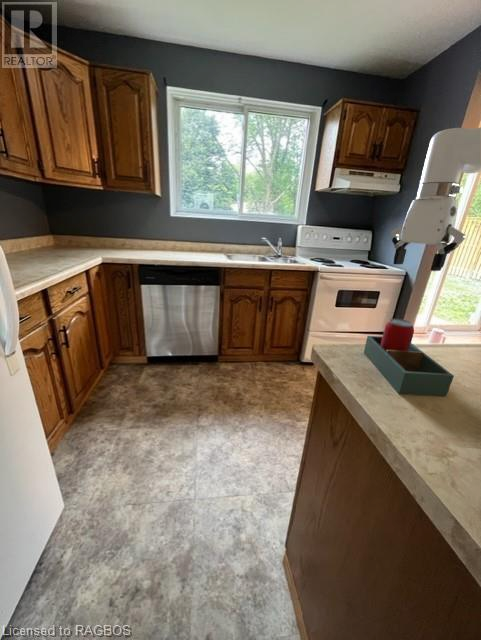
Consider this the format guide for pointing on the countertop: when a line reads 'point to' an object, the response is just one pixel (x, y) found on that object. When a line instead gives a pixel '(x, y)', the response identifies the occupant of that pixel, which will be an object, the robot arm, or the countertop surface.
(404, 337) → the beverage can
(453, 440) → the countertop surface
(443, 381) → the open rectangular storage bin
